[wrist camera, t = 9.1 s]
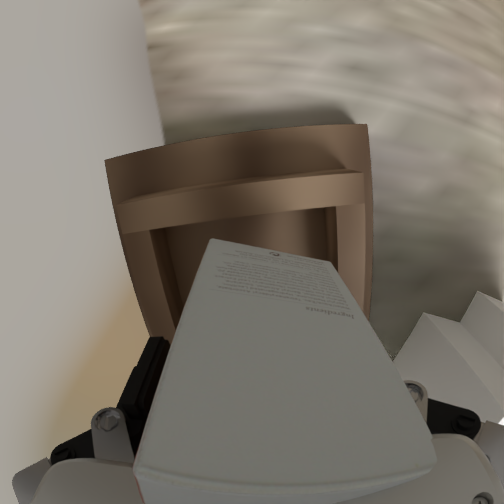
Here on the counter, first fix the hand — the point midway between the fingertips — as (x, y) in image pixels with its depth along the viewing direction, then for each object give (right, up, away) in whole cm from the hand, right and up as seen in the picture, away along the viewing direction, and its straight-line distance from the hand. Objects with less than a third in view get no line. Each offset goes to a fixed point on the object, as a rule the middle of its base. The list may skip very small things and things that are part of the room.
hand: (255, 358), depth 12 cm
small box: (0, +1, +3) cm, 3 cm away
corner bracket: (+18, -4, +10) cm, 21 cm away
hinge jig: (0, +3, +7) cm, 8 cm away
